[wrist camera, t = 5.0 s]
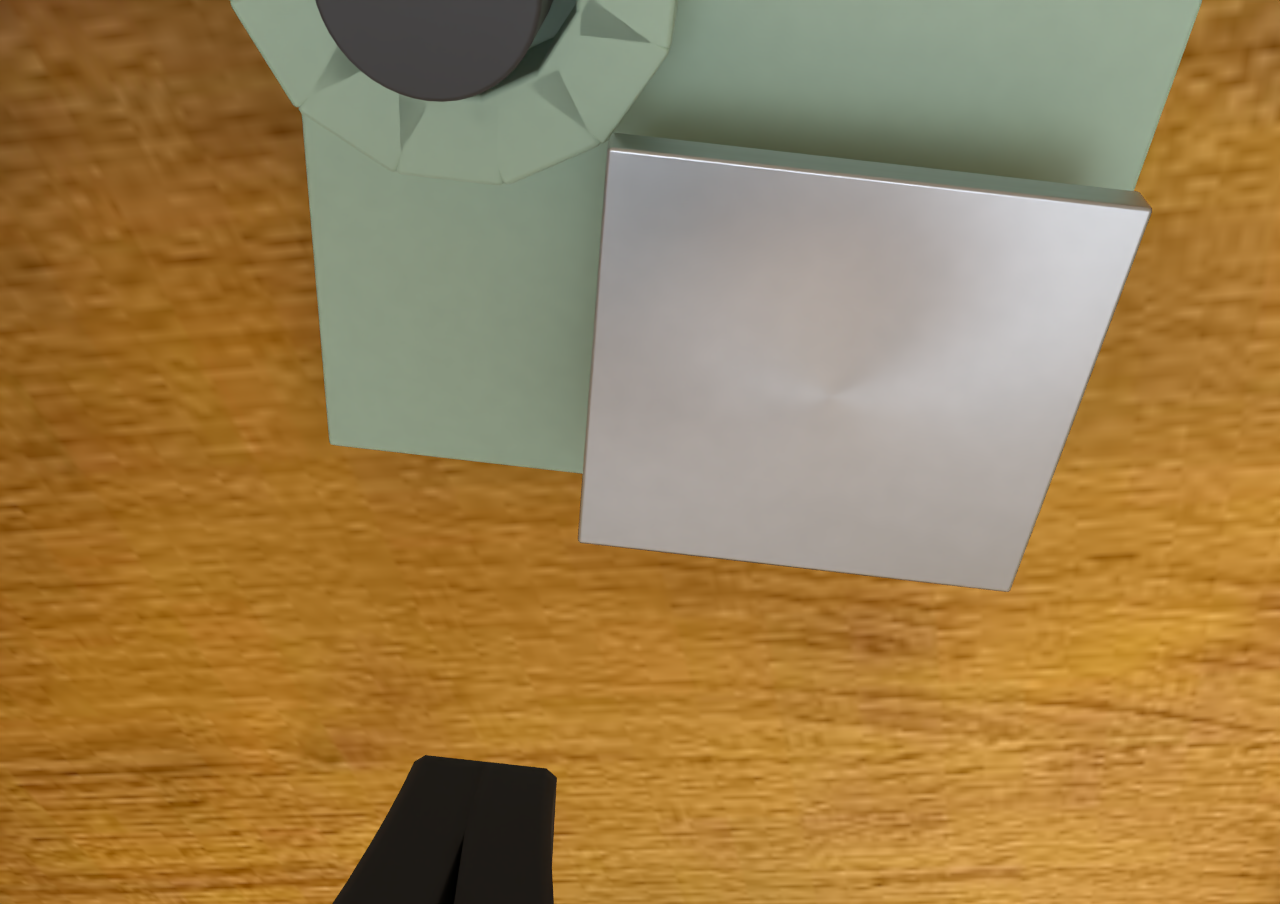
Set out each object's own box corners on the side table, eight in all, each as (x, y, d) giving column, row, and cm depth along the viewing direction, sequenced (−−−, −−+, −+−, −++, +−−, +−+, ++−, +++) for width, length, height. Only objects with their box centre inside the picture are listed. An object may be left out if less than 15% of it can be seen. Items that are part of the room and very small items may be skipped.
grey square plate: (582, 519, 18) (577, 543, 18) (611, 130, 14) (606, 147, 14) (1003, 568, 18) (1010, 593, 18) (1140, 190, 14) (1154, 209, 14)
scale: (329, 416, 20) (284, 500, 18) (266, -343, 14) (185, -344, 12) (1004, 493, 20) (1034, 586, 18) (1257, -233, 14) (1348, -216, 12)
